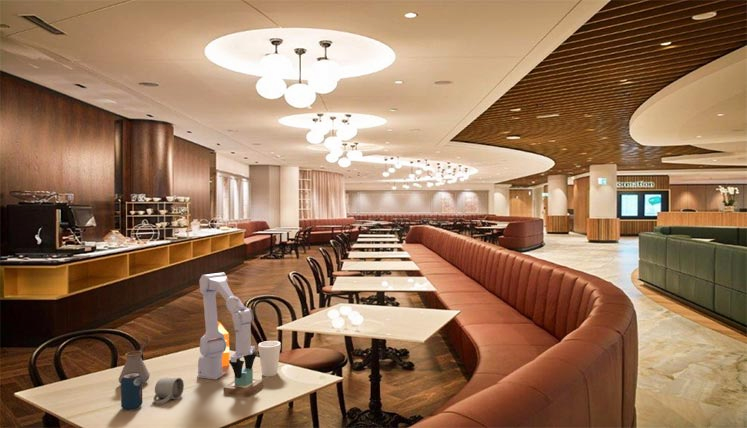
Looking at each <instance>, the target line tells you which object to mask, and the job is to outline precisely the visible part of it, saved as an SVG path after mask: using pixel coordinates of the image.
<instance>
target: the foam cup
mask: <svg viewBox="0 0 747 428" xmlns="http://www.w3.org/2000/svg"><path fill="white" fill-rule="evenodd" d="M281 346H282V345H281V342H280V341H278V340H266V341H265V340H264V341H262V342H259V343H258V345H257V347H258V349H257V350H258V354H259V361H260V367H261V374H262V376H263V377H273V376H277V375H278V371H279V370H278V369H279V361H280V360H279V359H280V354H281V352H280V351H281V348H282V347H281Z"/></svg>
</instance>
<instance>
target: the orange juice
mask: <svg viewBox="0 0 747 428" xmlns="http://www.w3.org/2000/svg"><path fill="white" fill-rule="evenodd" d="M218 329H219V332H220V333H222V334H224V337H225V341H226V345H227V346H226V350H225V351H224V354H222V368H223V367H225V366H226V367H227V366H230V363H229V360H230V332H228V331H227V328H225V327H224V325H223V324H222V323H221V322H220V321H218ZM216 339H217V338H216ZM211 340H213V339H211Z"/></svg>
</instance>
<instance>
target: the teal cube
mask: <svg viewBox="0 0 747 428" xmlns="http://www.w3.org/2000/svg"><path fill="white" fill-rule="evenodd" d="M253 373H254V371H253V368H252V369H247V368H245V367H242V375H241V378H235V377H234V380H235V385H241V386H247V385H248V384H250V383H251V382H253V379H254V378H253V377H254V376H253V375H254V374H253Z"/></svg>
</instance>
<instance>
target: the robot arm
mask: <svg viewBox="0 0 747 428" xmlns="http://www.w3.org/2000/svg"><path fill="white" fill-rule="evenodd" d="M228 281H229V280H228V276H227V275H226V273H225V272H224V271H223V272H222V271H221V272H216V273H209V274H202V275H201V276H200V278H199V292H200V294H202V300H203V310H204V322H205V333H204V335H202V337H200V341H199V352H200V356H199V358H198V361H197V362H198V363H197V370H198V371H197V374H198V375H197V376H196V377H197V378H199V379H200V378H202V379H209V380H210V379H211V380H218V379H220V378H221V377H223V376H224V375H226V374H227V371H223V367H222V354H224V351H225V350H226V346H227V345H226V341H225V337H224V334H222V333H220V332H219V329H218V322H219V321H218V307H217V294H218V293H219V294H220V295H221V296H222V298H223V299H224V300H225V306H226V308H227V310H228V311H229V313H230V314H231V316H232V318H231V319H232V323H233V328H234V330H235V351H234V353H233V355H232V356H231V355H230V359H229V366H231V368H232V371H233V374H234V379H235V378H241V375H242V368H247V369H253V366H254V363H255V359H256V357H257V355H258V353H257V352H255V351H256V346H255V345H251V344H252V342H251V339H252V337H251V336H252V334H251V331H252V329H251V325H252V323H253V322H254V312H253V310H252V309H251V308H248V307H246V306H245V305H244V304H243V302H242V301H241V299H240V298H239V297H238V296H235V295H234V294H233V292H232V290H231V288H230V286H229V285H228ZM216 338H217V339H216ZM211 339H213V340H211ZM241 358H243V360H241ZM244 365H245V367H244Z"/></svg>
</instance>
